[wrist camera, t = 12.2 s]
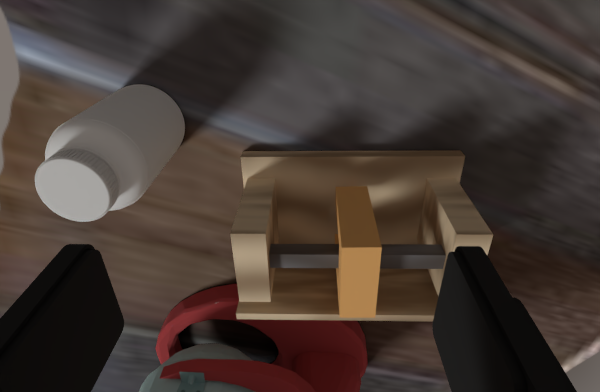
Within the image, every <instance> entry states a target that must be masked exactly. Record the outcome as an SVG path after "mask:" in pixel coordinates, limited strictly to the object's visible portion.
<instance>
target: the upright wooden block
mask: <svg viewBox="0 0 600 392" xmlns="http://www.w3.org/2000/svg"><path fill="white" fill-rule="evenodd" d="M335 205H336V216H337V227H338V234H335V244H339V268H336V275H337V288H338V302H339V315H340V318H375V315H376V304H377V294H378V283H379V272H380V262H381V251H382V246H381V242H380V238H379V233H378V229H377V225H376V221H375V217H374V213H373V209H372V204H371V200H370V196H369V192H368V188H367V186H350V187H336V196H335Z"/></svg>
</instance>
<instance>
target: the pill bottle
mask: <svg viewBox="0 0 600 392" xmlns="http://www.w3.org/2000/svg"><path fill="white" fill-rule="evenodd" d="M184 134H185V122H184V118H183V115H182V112H181V110H180V108H179V107H178V105H177V104H176V103H175V101H174V100H173V99H172V98H171V97H170V96H169V95H167V94H166V93H165V92H163V91H161V90H160V89H158V88H155V87H152V86H149V85H143V84H135V85H130V86H126V87H123V88H121V89H119V90H118V91H116V92H114V93H113V94H111V95H109V96H108V97H106V98H104V99H103V100H101V101H99V102H98V103H96V104H95V105H93V106H91V107H90V108H88V109H86V110H85V111H83V112H81V113H80V114H78V115H76V116H75V117H73V118H71V119H70V120H68V121H67V122H65V123H63V124H62V125H61V126H59V127H58V128H57V129H56V130H55V131H54V132H53V134H52V135H51V137H50V139H49V141H48V143H47V146H46V151H45V161H44V162H43V163H42V164H41V165H40V166H39V167H38V169H37V172H36V175H35V186H36V190H37V192H38V194H39V196H40V198H41V199H42V201H43V202H44V203H45V204H46V205H47V206H48V207H49V208H50V209H51V210H52V211H54V212H55V213H57V214H58V215H60V216H62V217H64V218H67V219H70V220H73V221H80V222H87V221H93V220H96V219H99V218H101V217H103V216H104V215H105V214H106V213H107V212H108V211H111V210H118V209H122V208H124V207H127V206H129V205H131V204H133V203H134V202H136V201H137V200H138V199H139V198H140V197H141V196H142V195H143V194H144V193H145V191H146V190H147V189H148V187H149V186H150V185H151V184H152V182H153V181H154V180H155V178H156V177H157V176H158V174H159V173H160V172H161V170H162V169H163V168H164V166H165V165H166V164H167V163H168V161H169V160H170V159H171V157H172V156H173V155H174V153H175V152H176V151H177V149H178V148H179V147H180V145H181V143H182V141H183V138H184Z"/></svg>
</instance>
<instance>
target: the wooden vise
mask: <svg viewBox="0 0 600 392" xmlns="http://www.w3.org/2000/svg"><path fill="white" fill-rule="evenodd" d="M464 160H465V155H464V154H463V153H462V152H461V150H421V151H243V152H242V155H241V165H242V175H243V184H244V191H243V195H242V198H241V201H240V204H239V208H238V211H237V214H236V217H235V220H234V224H233V227H232V230H231V233H230V235H231V242H232V250H233V257H234V265H235V272H236V279H237V287H238V294H239V302H238V307H237V311H236V317H237V319H260V320H348V321H433V319H434V314H435V310H436V305H437V301H438V296H439V292H440V288H441V283H442V279H443V274H444V270H445V265H446V261H447V256H448V253H449V252H454V251H455V249H456V247H458V246H480V247H482V248H483V250H484V251H485V253H486V255H488V252H489V248H490V245H491V242H492V238H493V233H492V232H491V230H490V229H489V227H488V226H487V224H486V223H485V221H484V220H483V218H482V217H481V215H480V214H479V212H478V211H477V209H476V208H475V206H474V205H473V203H472V202H471V200H470V199H469V197H468V196H467V194H466V193H465V191H464V190H463V188H462V187H461V185H460V184H459V183H460V179H461V174H462V169H463V165H464ZM350 186H367V188H368V192H369V196H370V200H371V204H372V209H373V213H374V217H375V221H376V225H377V229H378V233H379V238H380V242H381V246H382V251H381V262H380V272H379V283H378V294H377V304H376V315H375V318H340V315H339V302H338V288H337V275H336V268H339V244H335V234H338V227H337V216H336V205H335V196H336V187H350Z"/></svg>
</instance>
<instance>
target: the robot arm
mask: <svg viewBox="0 0 600 392" xmlns="http://www.w3.org/2000/svg"><path fill="white" fill-rule="evenodd" d="M123 327H124V319H123V316H122V313H121V310H120V307H119V304H118V301H117V299H116V296H115V293H114V290H113V287H112V285H111V282H110V279H109V276H108V273H107V270H106V268H105V265H104V262H103V259H102V256H101V254H100V252H99V251H98V250H95V249H94V247H93V246H92V245H89V244H69V245H66V246H65V247H63V248H62V250H61V251H60V252H59V253H58V254H57V255H56V256H55V257H54V259H53V260H52V261H51V262H50V263H49V264H48V265H47V267H46V268H45V269H44V270H43V271H42V272H41V273H40V274H39V276H38V277H37V278H36V279H35V280H34V281H33V282H32V283H31V285H30V286H29V287H28V288H27V289H26V290H25V291H24V292H23V294H22V295H21V296H20V297H19V298H18V299H17V300H16V301H15V303H14V304H13V305H12V306H11V307H10V308H9V309H8V311H7V312H6V313H5V314H4V315H3V316H2V317H1V318H0V392H91V390H92V389H93V387H94V385H95V383H96V381H97V379H98V377H99V375H100V373H101V371H102V369H103V367H104V366H105V364H106V362H107V360H108V358H109V356H110V354H111V352H112V350H113V348H114V346H115V345H116V343H117V341H118V339H119V337H120V335H121V333H122V331H123ZM433 335H434V338H435V341H436V344H437V348H438V351H439V354H440V357H441V360H442V363H443V366H444V369H445V372H446V375H447V378H448V382H449V385H450V388H451V391H452V392H577V391H576V390H575V388H574V386H573V385H572V383H571V382H570V380H569V378H568V377H567V375H566V373H565V372H564V370H563V369H562V367H561V365H560V364H559V362H558V360H557V359H556V357H555V356H554V354H553V352H552V351H551V349H550V347H549V346H548V344H547V343H546V341H545V339H544V338H543V336H542V334H541V333H540V331H539V330H538V328H537V326H536V325H535V323H534V321H533V320H532V318H531V317H530V315H529V313H528V312H527V310H526V308H525V307H524V305H523V304H522V303H521V301H520V300H518V299H517V298H512V296H511V295H510V293H509V291H508V290H507V288H506V286H505V285H504V283H503V281H502V280H501V278H500V276H499V275H498V273H497V271H496V270H495V268H494V266H493V265H492V263H491V261H490V260H489V258H488V256H487V255H486V253H485V251H484V250H483V248H482V247H480V246H458V247H456V249H455V251H454V252H449V253H448V256H447V261H446V265H445V270H444V274H443V279H442V283H441V288H440V292H439V296H438V301H437V305H436V310H435V314H434V319H433Z"/></svg>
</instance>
